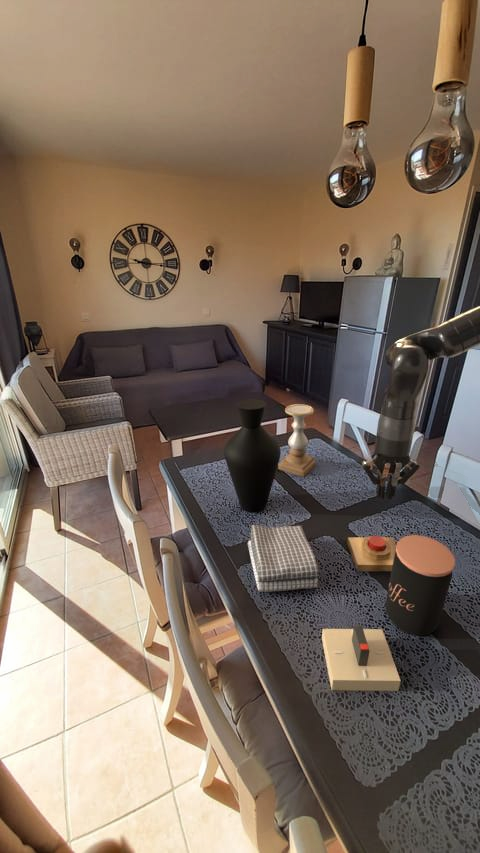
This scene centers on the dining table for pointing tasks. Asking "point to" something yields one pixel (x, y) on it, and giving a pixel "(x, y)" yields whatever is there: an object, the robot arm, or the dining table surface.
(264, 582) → the towel
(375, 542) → the button
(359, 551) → the switch block
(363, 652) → the dark grey block
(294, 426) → the candle holder
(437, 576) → the coffee jar
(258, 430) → the vase
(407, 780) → the dining table surface
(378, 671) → the panel
